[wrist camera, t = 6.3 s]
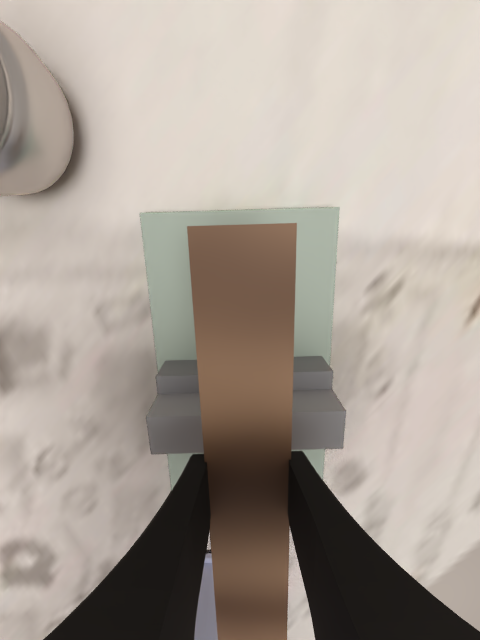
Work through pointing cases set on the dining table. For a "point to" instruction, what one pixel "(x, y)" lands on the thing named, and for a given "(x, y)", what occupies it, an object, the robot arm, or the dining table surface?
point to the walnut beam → (246, 415)
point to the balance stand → (179, 333)
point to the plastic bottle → (30, 120)
